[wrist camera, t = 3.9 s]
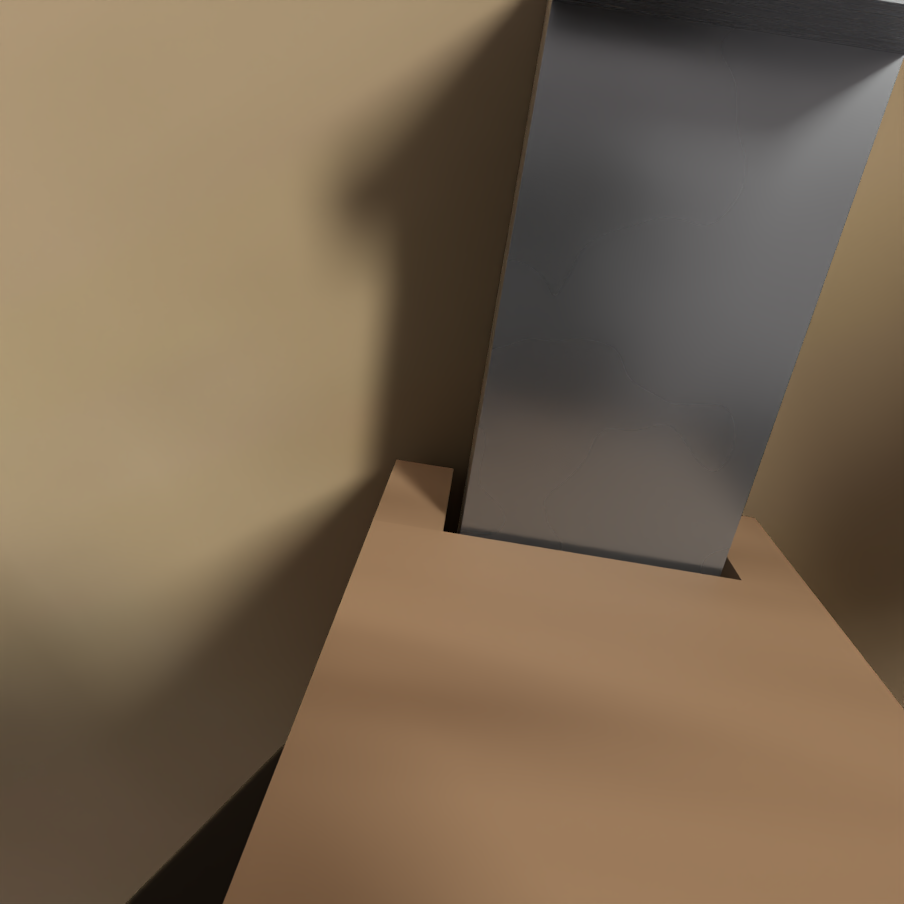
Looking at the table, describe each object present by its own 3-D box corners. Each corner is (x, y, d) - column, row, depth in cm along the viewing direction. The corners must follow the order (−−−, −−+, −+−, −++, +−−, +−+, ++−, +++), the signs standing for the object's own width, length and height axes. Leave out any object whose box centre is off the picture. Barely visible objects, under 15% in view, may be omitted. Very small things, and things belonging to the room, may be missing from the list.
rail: (549, 911, 13) (563, 1131, 10) (397, 885, 13) (364, 1097, 10) (829, 6, 7) (1065, -128, 4) (554, -37, 7) (591, -200, 4)
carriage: (643, 823, 11) (797, 1506, 5) (357, 775, 11) (204, 1399, 5) (754, 518, 9) (1225, 1121, 3) (396, 459, 9) (204, 948, 3)
